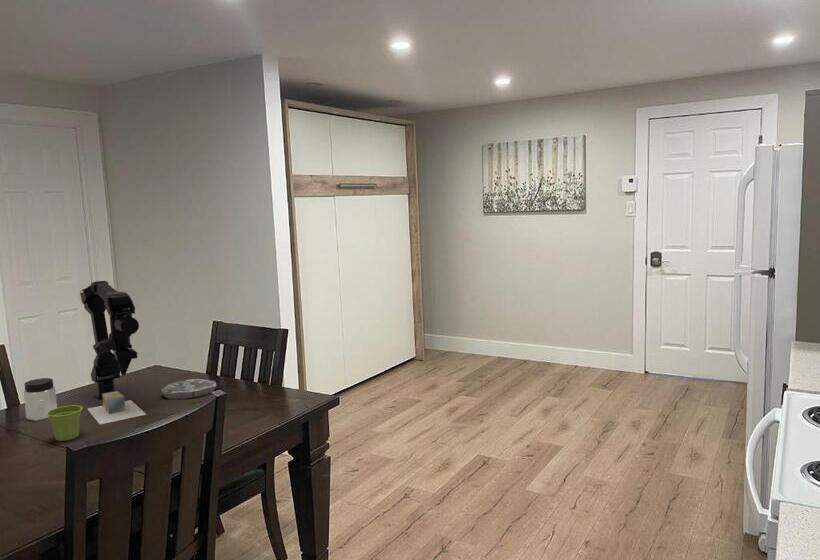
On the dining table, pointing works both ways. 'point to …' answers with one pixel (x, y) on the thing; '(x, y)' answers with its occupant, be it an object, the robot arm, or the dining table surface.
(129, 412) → the grey mat
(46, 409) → the jar
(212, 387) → the brain slice
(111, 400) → the birch block
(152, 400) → the dining table surface
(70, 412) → the plant pot
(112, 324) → the robot arm
